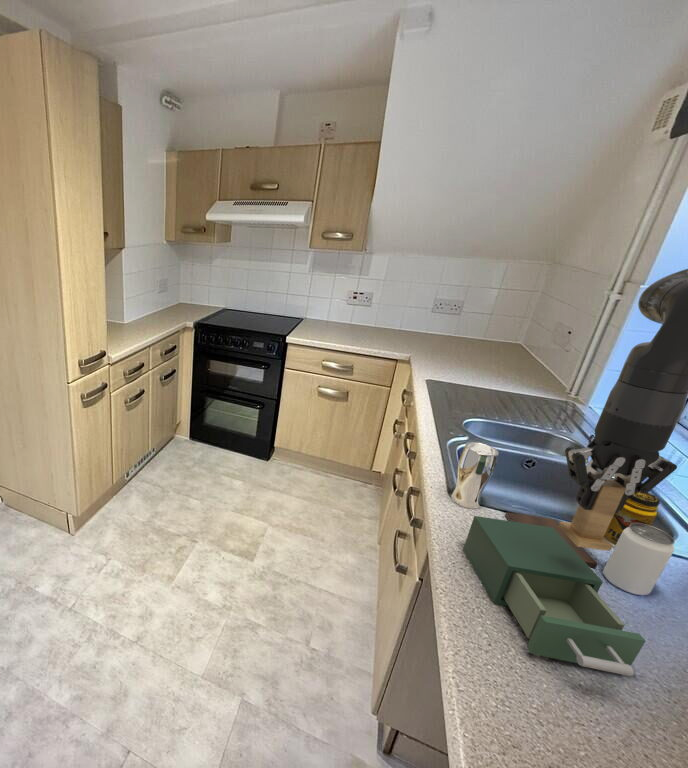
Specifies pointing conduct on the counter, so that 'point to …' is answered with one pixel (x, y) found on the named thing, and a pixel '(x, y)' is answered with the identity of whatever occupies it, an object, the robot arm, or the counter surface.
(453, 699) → the counter surface
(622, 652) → the drawer
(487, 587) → the cabinet
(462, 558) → the counter surface
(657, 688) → the counter surface
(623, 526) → the condiment
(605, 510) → the wooden block
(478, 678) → the counter surface
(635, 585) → the can
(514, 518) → the thin wooden plank
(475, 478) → the beer glass
